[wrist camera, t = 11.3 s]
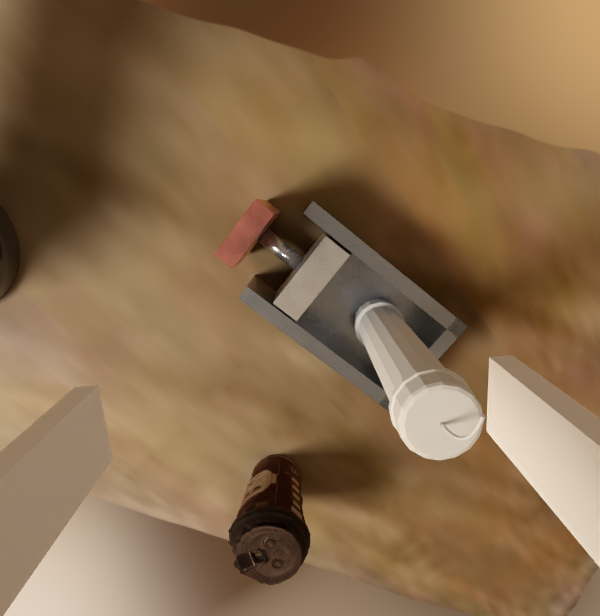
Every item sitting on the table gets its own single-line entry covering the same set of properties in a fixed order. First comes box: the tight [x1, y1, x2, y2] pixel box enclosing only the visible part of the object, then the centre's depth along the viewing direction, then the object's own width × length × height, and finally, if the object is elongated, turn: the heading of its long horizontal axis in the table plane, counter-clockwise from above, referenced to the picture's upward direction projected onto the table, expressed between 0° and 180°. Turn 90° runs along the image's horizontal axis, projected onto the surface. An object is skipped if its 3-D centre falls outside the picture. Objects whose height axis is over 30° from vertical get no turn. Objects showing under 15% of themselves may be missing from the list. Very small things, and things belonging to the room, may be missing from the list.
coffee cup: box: [229, 455, 310, 585], centre depth 50 cm, size 9×8×13 cm
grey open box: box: [239, 201, 468, 411], centre depth 47 cm, size 20×12×7 cm, turn 52°
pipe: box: [354, 299, 485, 460], centre depth 35 cm, size 6×6×30 cm
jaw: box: [215, 199, 350, 321], centre depth 43 cm, size 10×8×11 cm
